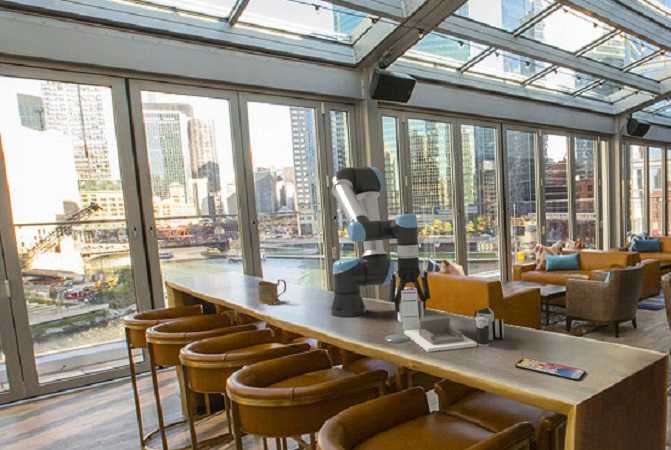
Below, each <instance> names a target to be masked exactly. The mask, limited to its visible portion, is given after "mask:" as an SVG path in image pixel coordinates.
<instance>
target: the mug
mask: <svg viewBox="0 0 671 450" xmlns="http://www.w3.org/2000/svg"><path fill="white" fill-rule="evenodd" d="M280 281H281V282H283V284H284V285H283V286H284V287H283V291H282V292H281V293H279V294H278V291H279V290H278V287H279V286H280ZM257 288H258V289H257V293H258V295H257V296H258V300H257V302H256V304H257V303H258V304H257V305H259V304H271V305H273V304H272V303H276V304H278V303H277V302H279V301H280V302H281V300H280V299H279V297H280V296H281V295H282V294H284V293H286V292H287V291H286V290H287V282H286V281H285V280H284V279H277V283H275V282H270V281H266V280H259V281H258V282H257ZM280 302H279V303H280Z"/></svg>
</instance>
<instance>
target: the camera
mask: <svg viewBox="0 0 671 450" xmlns="http://www.w3.org/2000/svg"><path fill="white" fill-rule="evenodd" d="M473 318H474V320H475V321H476V322H475V323H476V325H475V328H476V343H477V346H479V347H488V346H489V345H490V341H493V340H494V338H499V339H500V338H501V339H503V338H504V337H505V333H504V332H505V331H504V327H505V326H504V319H502V318H495V312H494V311H493V310H492V309H491V308H490V307H486V308H480V309H478V310H474V317H473Z"/></svg>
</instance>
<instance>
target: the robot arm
mask: <svg viewBox="0 0 671 450" xmlns="http://www.w3.org/2000/svg"><path fill="white" fill-rule="evenodd" d="M329 187H330V191H331V193H332V194H331V195H333V196H334V198H336V199H337V201H338V202H339V204H340V207H341V210H342V211H343V213H344V214H345V215H344V216H345V217H346V219H347V221H348V225H347V236H348V239H349V240H350V241H351V242H356V243H357V242H358V243H359V242H360V243H362V242H363V243H362V244H363V251H364V252H363V254H362V255H361V259H360V257H357V256H353V257H346V258H340V259H338V260H336V261H334V263H333V264H332V277H333V299H332V303H331V306H330V314H331V315H332V316H335V317H341V318H342V317H347V318H348V317H359V316H362V315H365V314H367V307H366V303H365V301H364V299H363V296H362V288H369V287H376V286H378V287H380V286H381V287H382V286H385V285H389V284H390V287H389V288H390V289H389V298H388V300H389V302H391V303H394V311H395V312H396V313H397V320H398V322H400V323H403V317H402V302H401V301H402V299H401V291H402V290H404V288H406V285H407V284H409V283H412V284H413V285H414V287H415V288H417V294H418V307H419V320H425V318H424V316H425V314H424V312H425V311H424V310H426V309H427V307H426V302H427V300H429V299H431V293H430V286H429V281H428V276H429V275H428V271H424V270H423V271H421V270H420V259H419V236H418V235H419V234H418V231H419V230H418V226H419V225H418V224H419V223H418V218H417V215H416V214H415V213H405V214H404V213H403V214H401V213H399V214H397V215H395V219H394V218H393V219H386V220H385V219H382V220H381V218H380V210H379V202H378V198H379V197H380V195H381V192H382V191H383V188H384V177H383V174H382V172H381V170H380V169H379V168H377V167H374V166H372V167H371V166H355V167H354V166H352V167H349V166H348V167H347V166H346V167H342V168H340V169H338V170H337V171H336V172H335V173H334V174H333V175H332V177H331V179H330V183H329ZM388 240H389V241H391V240H396V246H397V247H396V252H397V254H396V255H397V271H396V272H395V268H396V267H395V263H394V260H393V259H392V258H391V257H389V254H388V252H387V251H385V250H384V249H385V248H384V242H383V241H388ZM419 276H420V278H421V285H422V287H421V285H420V281H419V279H418V278H419ZM398 278H399V284H398V288H397V279H398ZM396 288H397V289H396ZM422 289H423V290H422ZM396 290H397V291H396Z"/></svg>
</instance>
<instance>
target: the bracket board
mask: <svg viewBox="0 0 671 450" xmlns="http://www.w3.org/2000/svg"><path fill="white" fill-rule="evenodd" d="M450 322H451V320H450V317H437V318H429V319H424V320H421V319H419V329H416V330H403V335H406V336H408V337H410V338H409V339H411V340H412V341H413V340H414V341H413V342H414V343H416V344H417V345H418V344H419V347H421V348H422V347H423V349H424V350H425V351H426V352H427V353H430V352H438V351H439V350H440V351H446V350H447V351H448V350H456V349H465V348H473V347H478V345H477V341H474V340H473V339H471V338H469V337H467V336H465V335H464V334H463V332H462V331H460V330H458V329H457V328H455V327H453V326H452V325H451V323H450ZM440 351H439V352H440Z"/></svg>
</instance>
